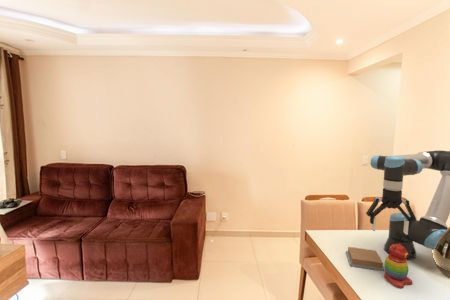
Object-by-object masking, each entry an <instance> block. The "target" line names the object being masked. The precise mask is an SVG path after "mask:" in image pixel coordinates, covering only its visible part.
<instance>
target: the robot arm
mask: <svg viewBox="0 0 450 300" xmlns="http://www.w3.org/2000/svg"><path fill="white" fill-rule="evenodd" d="M369 164H370V166H371V168H373V169H376V170H377V171H378V170H380V171H383V173H384V174H383V183H382V186H383V188H382V195H381V197H378V196H375V197H374V200H373V202H372V203H371V205H370V207H368V209H367V211H366V212H365V214H366V215H367V217H369V223H370V224H371V230H372V232H376V224H377V223H376V221H377V218H376V216H378V214H380V213H381V212H383V210H385V209H395V210H396V209H398V211H399V212H395V213H391V214H390V216H389V227H388V236H387V239H386V241H385V243H384V247H383V250H384V251H385V252H386V253H387V254H388V255H389V254H390V251H389V248H390V246H391V245H392V244H399V243H401V245H402V246H403V247H404V248H405V249H406V250H407V252H408V256H407V257H406V260H414V259H416V257H417V252H416V248H415V245H414V243H416V244H418V245H421V246H423V247H424V248H427V249H430V250H433V251H435V250H434V249H435V248H436V246H437V244H438V242H439V240H440V239H441V238H442V236H443V235H444V234H445V233H446V232H447V231H448V230H447V229H449V227H448V225H447V221H448V219H449V216H450V150H439V149H438V150H431V151H430V150H429V151H420V152H417V153H413V154H412V153H411V154H397V155H396V154H395V155H381V154H380V155H379V154H378V155H373V156H372V157H371V159H370V163H369ZM423 169H428V170H433V171H438V172H439V171H440V172H439V173H440V175H441V178H440V180H439V183H438V185H437V187H436V190H435V192H434V194H433V197H432V200H431V202H430V204H429V207H428V209H427V210H426V213H425V215H424V216H421V217H420V218H419V220H418V219H417V218H416V216H415V213H414V211H413V209H412V207H411V205H410V201H409V200H408V199H407V198H405V199H402V196H403V182H404V177H406V176H415V175H418V174H420V173H421V172H422V171H423ZM380 202H381V203H380ZM379 203H380V205H379ZM402 204H403V205H404V206H405V208H406V211H407V212H408V213H407V212H406V211H405V210H404V209H403V208H402V206H401V205H402ZM378 205H379V206H378ZM377 206H378V207H377ZM376 207H377V208H376ZM446 230H447V231H446Z"/></svg>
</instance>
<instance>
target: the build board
mask: <svg viewBox="0 0 450 300" xmlns="http://www.w3.org/2000/svg"><path fill="white" fill-rule="evenodd" d="M345 254H346V257H347V260H348V264H349V267H354V268H359V269H365V270H370V271H371V270H372V271H377V272H383V273H384V272H385V273H386V271H385V266H384V262H383V261H382V259H381V258H380V256H379V253H378V252H377V250H374V249H367V248H361V247H352V246H348V247H347V250H346V251H345Z"/></svg>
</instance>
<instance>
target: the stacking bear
mask: <svg viewBox="0 0 450 300" xmlns="http://www.w3.org/2000/svg"><path fill="white" fill-rule="evenodd" d="M389 251H390V254H389V253H388V255H387V256H386V257H385V260H384V268H385V273H384V275H383V276H384V279H385V280H386V282H388V283H389V284H390V285H392V286H394V288H398V289H404V287H405V285H408V286H409V285H413V280H412V279H411V278H410V277H408V274H409V264H408V259H406V257H407V256H408V252H407V250H406V249H405V248H404V247H403V246H402V245H401V243H399V244H392V245H391V246H390V248H389Z"/></svg>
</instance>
